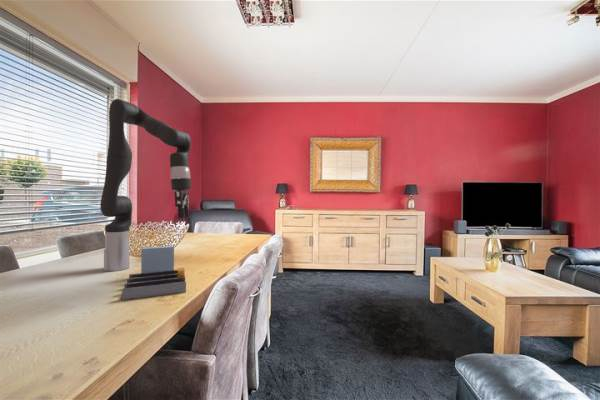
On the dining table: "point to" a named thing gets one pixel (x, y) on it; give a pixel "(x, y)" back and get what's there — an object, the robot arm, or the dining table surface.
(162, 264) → the panel
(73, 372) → the dining table surface
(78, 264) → the dining table surface
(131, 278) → the rack
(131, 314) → the dining table surface
